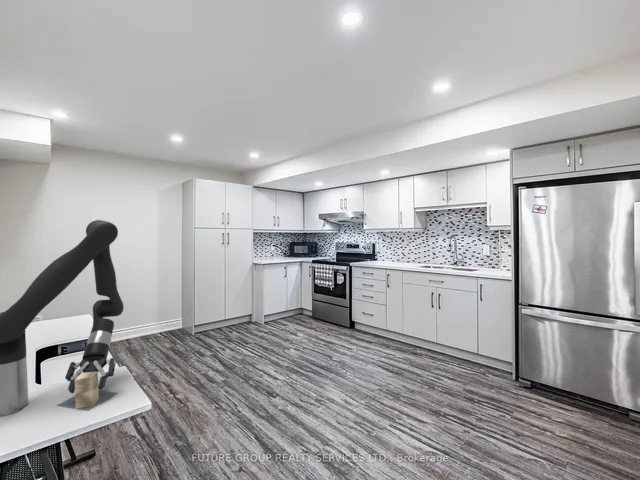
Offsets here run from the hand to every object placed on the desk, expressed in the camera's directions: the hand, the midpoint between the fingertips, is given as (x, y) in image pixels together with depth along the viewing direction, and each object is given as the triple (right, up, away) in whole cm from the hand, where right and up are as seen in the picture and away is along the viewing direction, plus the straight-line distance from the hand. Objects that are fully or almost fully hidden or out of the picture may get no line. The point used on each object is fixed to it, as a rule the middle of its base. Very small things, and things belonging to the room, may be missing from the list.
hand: (86, 390), depth 111 cm
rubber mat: (-2, -6, +4) cm, 7 cm away
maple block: (0, -5, +1) cm, 5 cm away
